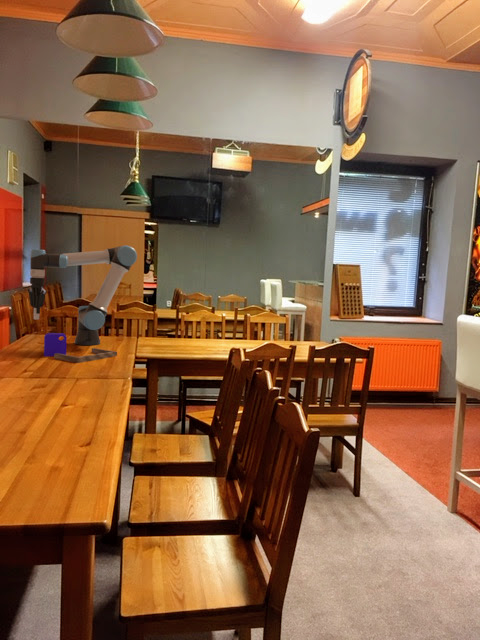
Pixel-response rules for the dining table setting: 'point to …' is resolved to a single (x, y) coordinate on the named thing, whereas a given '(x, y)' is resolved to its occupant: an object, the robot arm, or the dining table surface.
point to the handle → (100, 355)
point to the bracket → (54, 344)
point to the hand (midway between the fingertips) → (36, 319)
